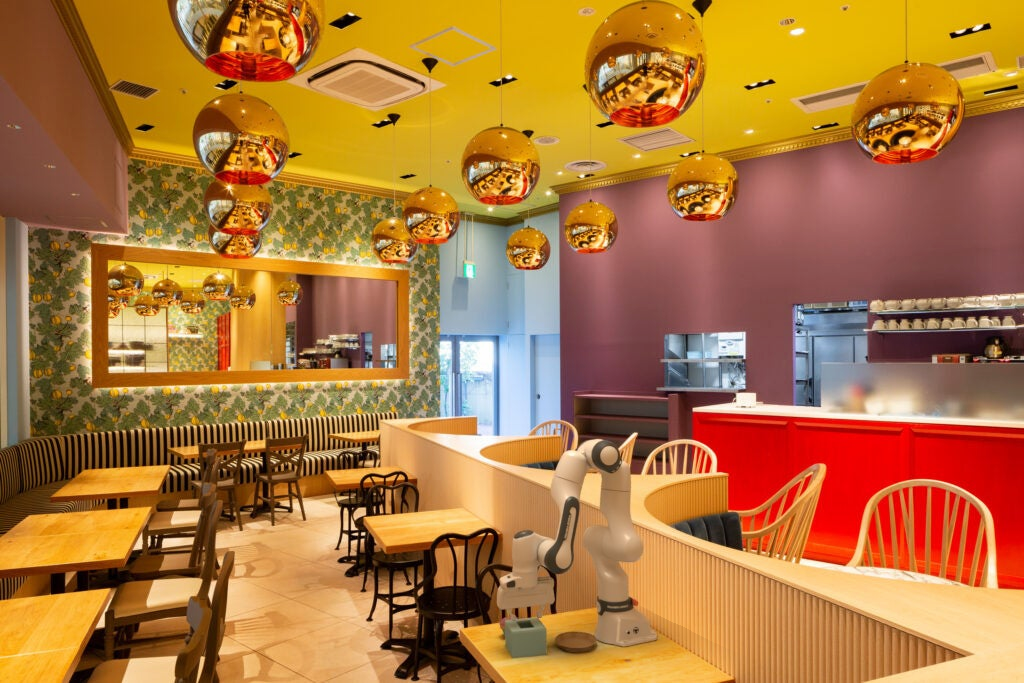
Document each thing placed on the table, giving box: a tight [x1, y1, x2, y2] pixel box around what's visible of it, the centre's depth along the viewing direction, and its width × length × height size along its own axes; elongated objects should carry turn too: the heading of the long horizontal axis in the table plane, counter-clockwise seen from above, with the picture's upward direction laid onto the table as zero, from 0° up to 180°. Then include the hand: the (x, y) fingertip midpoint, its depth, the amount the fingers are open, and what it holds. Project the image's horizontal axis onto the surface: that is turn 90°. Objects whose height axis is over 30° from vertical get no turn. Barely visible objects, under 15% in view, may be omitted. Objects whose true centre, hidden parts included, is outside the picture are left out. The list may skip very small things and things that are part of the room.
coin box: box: [504, 616, 548, 659], centre depth 233 cm, size 12×11×9 cm
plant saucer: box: [554, 630, 598, 653], centre depth 236 cm, size 15×15×3 cm
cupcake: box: [498, 609, 520, 638], centre depth 245 cm, size 9×8×12 cm
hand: (526, 619), depth 233 cm, fingers open, 8 cm apart
